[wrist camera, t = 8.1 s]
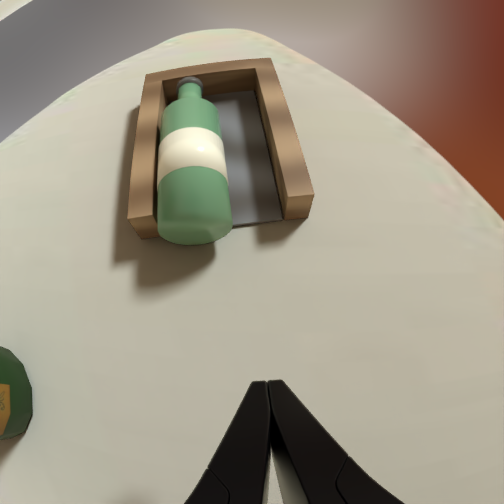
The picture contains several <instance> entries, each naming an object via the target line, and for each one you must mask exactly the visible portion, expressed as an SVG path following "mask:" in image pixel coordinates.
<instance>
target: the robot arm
mask: <svg viewBox="0 0 504 504" xmlns="http://www.w3.org/2000/svg"><path fill="white" fill-rule="evenodd" d="M271 452H272V457H273V462H274V466H275V470H276V474H277V478H278V483H279V487H280V491H281V495H282V499H283V503H284V504H404V503H403V502H402V501H400V500H399V499H398V498H396V497H395V496H394V495H392V494H391V493H390V492H388V491H387V490H386V489H384V488H383V487H382V486H381V485H379V484H378V483H377V482H376V481H375V480H373V479H372V478H371V477H370V476H369V475H368V474H367V473H366V472H365V471H364V470H363V469H362V468H361V467H360V466H359V465H358V464H357V463H356V462H355V461H354V460H353V459H352V458H351V457H350V456H349V457H348V454H347V453H346V452H345V450H344V449H343V448H342V447H341V446H340V445H339V444H338V443H337V442H336V441H335V440H334V438H333V437H332V436H331V435H330V434H329V433H328V432H327V431H326V430H325V428H324V427H323V426H322V425H321V424H320V423H319V422H318V421H317V419H316V418H315V417H314V416H313V415H312V414H311V413H310V411H309V410H308V409H307V408H306V407H305V406H304V405H303V403H302V402H301V401H300V400H299V399H298V398H297V396H296V395H295V394H294V393H293V392H292V391H291V389H290V388H289V387H288V386H287V385H286V384H285V382H284V381H283V380H269V381H268V382H266V381H253V382H252V383H251V384H250V386H249V388H248V390H247V392H246V394H245V396H244V398H243V400H242V402H241V404H240V406H239V408H238V410H237V412H236V414H235V416H234V418H233V420H232V422H231V423H230V425H229V427H228V429H227V431H226V433H225V435H224V437H223V439H222V441H221V443H220V444H219V446H218V448H217V450H216V452H215V454H214V456H213V457H212V459H211V461H210V463H209V465H208V469H206V470H205V472H204V473H203V475H202V477H201V479H200V480H199V482H198V484H197V485H196V487H195V489H194V490H193V492H192V493H191V495H190V496H189V497H188V499H187V500H186V501H185V503H184V504H267V502H268V489H269V475H270V460H271Z"/></svg>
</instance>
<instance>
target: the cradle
mask: <svg viewBox="0 0 504 504" xmlns="http://www.w3.org/2000/svg"><path fill="white" fill-rule="evenodd" d="M185 77H196V78H198V79H200V80H201V81H202V83H203V94H202V99H205V100H207V101H209V102H211V103H212V104H213V105H214V106H215V107H216V108H217V110H218V112H219V117H220V126H221V134H222V142H223V146H224V154H225V162H226V170H227V177H228V190H229V198H230V206H231V214H232V221H233V226H241V225H249V224H257V223H265V222H273V221H282V215H281V210H280V205H279V200H278V195H277V191H276V186H275V181H274V177H273V172H272V167H271V163H270V158H269V154H268V149H267V145H266V140H265V136H264V132H263V127H262V123H261V119H260V114H259V110H258V106H257V102H256V97H255V93H254V92H256V96H257V100H258V104H259V108H260V112H261V117H262V121H263V125H264V129H265V134H266V138H267V142H268V147H269V151H270V155H271V160H272V164H273V169H274V173H275V178H276V183H277V187H278V192H279V196H280V201H281V206H282V211H283V215H284V220H290V219H299V218H308V216H309V212H310V209H311V205H312V201H313V198H314V191H313V187H312V184H311V180H310V177H309V173H308V170H307V166H306V163H305V160H304V156H303V153H302V150H301V146H300V143H299V140H298V137H297V133H296V130H295V127H294V124H293V121H292V118H291V115H290V112H289V109H288V106H287V103H286V100H285V97H284V94H283V91H282V88H281V85H280V82H279V80H278V77H277V74H276V71H275V68H274V66H273V63H272V60H271V58H259V59H246V60H235V61H225V62H217V63H209V64H202V65H195V66H188V67H182V68H177V69H171V70H166V71H161V72H156V73H151V74H146V76H145V82H144V87H143V92H142V98H141V104H140V110H139V116H138V122H137V129H136V136H135V143H134V151H133V160H132V169H131V179H130V189H129V202H128V216H127V219H128V221H129V222H130V223H131V225H132V226H133V228H134V229H135V231H136V232H137V233H138V235H139V236H140V238H141V239H146V238H153V237H160V234H159V233H158V191H157V178H158V152H159V143H160V126H161V116H162V113H163V111H164V110H165V108H166V107H167V106H168V104H169V105H170V104H171V103H172V102H174V101H176V100H178V97H177V95H176V85H177V83H178V82H179V81H180V80H181V79H183V78H185Z"/></svg>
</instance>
